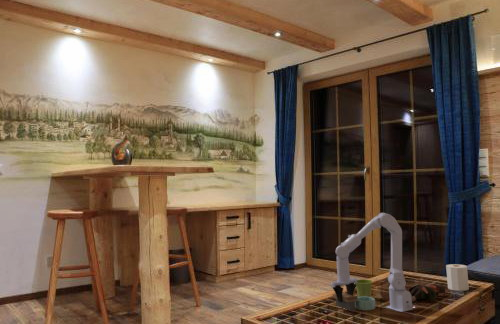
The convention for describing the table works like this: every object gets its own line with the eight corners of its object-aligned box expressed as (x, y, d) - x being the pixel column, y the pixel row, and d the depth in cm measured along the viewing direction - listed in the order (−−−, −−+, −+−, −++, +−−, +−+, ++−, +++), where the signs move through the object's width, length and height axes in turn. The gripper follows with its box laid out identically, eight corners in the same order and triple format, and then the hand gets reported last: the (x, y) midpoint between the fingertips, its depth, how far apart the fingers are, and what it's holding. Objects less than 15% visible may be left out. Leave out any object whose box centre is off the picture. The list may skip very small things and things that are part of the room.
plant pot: (352, 300, 207) (351, 282, 208) (357, 295, 216) (356, 278, 216) (371, 301, 203) (370, 283, 203) (375, 296, 211) (374, 279, 212)
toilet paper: (455, 291, 214) (453, 268, 215) (443, 287, 224) (441, 264, 225) (473, 290, 215) (471, 266, 216) (460, 285, 226) (459, 263, 227)
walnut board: (357, 300, 190) (357, 296, 190) (348, 302, 187) (348, 298, 187) (341, 295, 199) (341, 292, 199) (332, 297, 197) (332, 294, 197)
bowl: (379, 308, 192) (378, 299, 192) (365, 311, 187) (364, 302, 188) (365, 303, 200) (364, 295, 200) (351, 307, 195) (350, 298, 196)
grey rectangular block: (355, 310, 189) (354, 300, 190) (350, 311, 188) (349, 301, 188) (341, 305, 198) (340, 296, 198) (336, 306, 197) (335, 297, 197)
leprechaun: (394, 294, 205) (429, 282, 216) (404, 313, 201) (439, 299, 211) (407, 287, 197) (442, 274, 208) (417, 306, 192) (453, 292, 203)
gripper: (349, 268, 201) (351, 296, 200) (325, 272, 194) (327, 301, 193) (359, 270, 195) (361, 299, 194) (335, 274, 188) (337, 304, 187)
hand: (345, 300), depth 193 cm, fingers closed on walnut board, 5 cm apart
